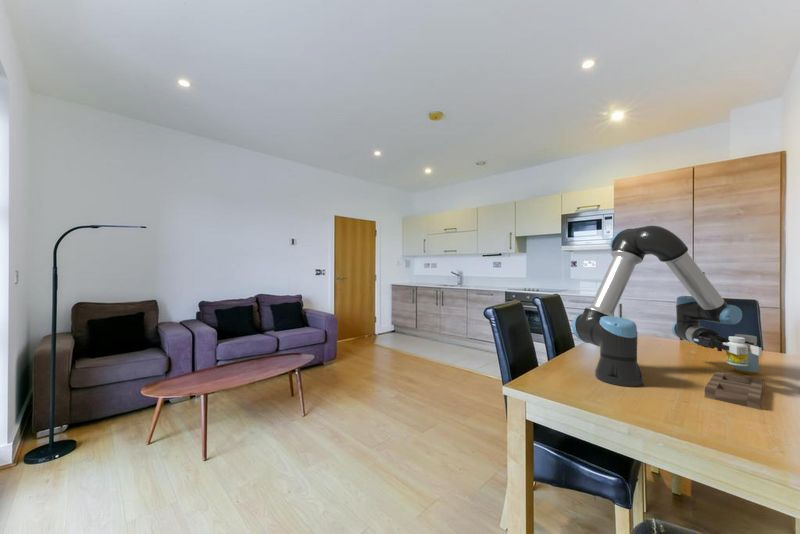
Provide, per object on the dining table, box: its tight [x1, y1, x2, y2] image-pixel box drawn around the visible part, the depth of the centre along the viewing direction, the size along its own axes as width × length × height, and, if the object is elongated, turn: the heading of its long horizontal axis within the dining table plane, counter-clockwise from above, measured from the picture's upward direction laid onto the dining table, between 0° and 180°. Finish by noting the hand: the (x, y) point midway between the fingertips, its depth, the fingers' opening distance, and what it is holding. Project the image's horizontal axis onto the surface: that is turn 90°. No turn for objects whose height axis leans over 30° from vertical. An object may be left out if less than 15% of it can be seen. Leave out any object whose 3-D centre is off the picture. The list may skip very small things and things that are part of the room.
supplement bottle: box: [725, 335, 748, 366], centre depth 112 cm, size 5×5×10 cm
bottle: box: [732, 333, 760, 376], centre depth 129 cm, size 7×7×15 cm
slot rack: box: [704, 371, 764, 410], centre depth 108 cm, size 26×12×3 cm, turn 129°
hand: (749, 351), depth 107 cm, fingers closed on supplement bottle, 5 cm apart
